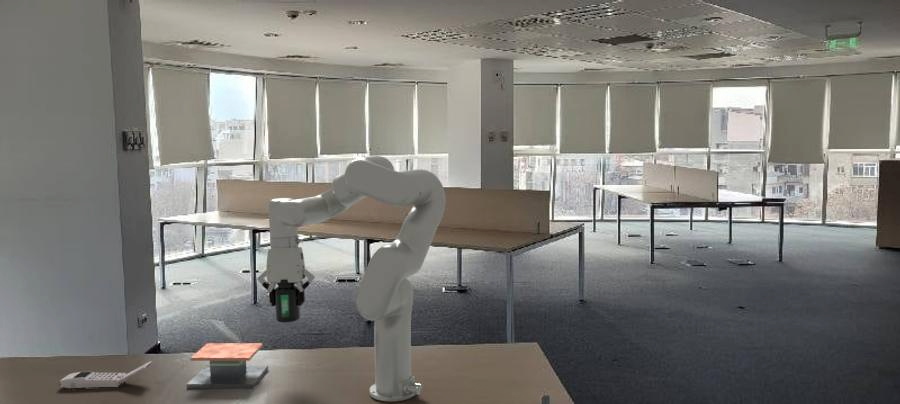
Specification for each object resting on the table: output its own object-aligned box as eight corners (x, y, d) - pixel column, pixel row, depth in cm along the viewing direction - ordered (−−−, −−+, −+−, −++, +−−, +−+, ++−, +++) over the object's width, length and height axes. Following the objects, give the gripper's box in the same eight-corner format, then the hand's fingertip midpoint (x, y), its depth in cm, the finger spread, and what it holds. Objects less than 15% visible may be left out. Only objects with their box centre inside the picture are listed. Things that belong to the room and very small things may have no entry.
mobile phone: (145, 367, 182) (50, 369, 180) (146, 388, 182) (51, 390, 181) (153, 360, 188) (61, 361, 186) (154, 380, 188) (63, 382, 187)
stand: (268, 369, 195) (267, 342, 194) (253, 388, 181) (251, 359, 180) (206, 369, 195) (205, 342, 194) (186, 388, 181) (185, 359, 181)
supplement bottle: (288, 324, 185) (286, 281, 184) (270, 321, 189) (268, 279, 187) (305, 317, 191) (303, 276, 190) (287, 314, 195) (285, 274, 193)
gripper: (318, 239, 191) (320, 301, 193) (257, 240, 192) (260, 302, 194) (312, 244, 184) (315, 308, 186) (249, 245, 184) (252, 309, 186)
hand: (287, 304), depth 190 cm, fingers closed on supplement bottle, 6 cm apart
